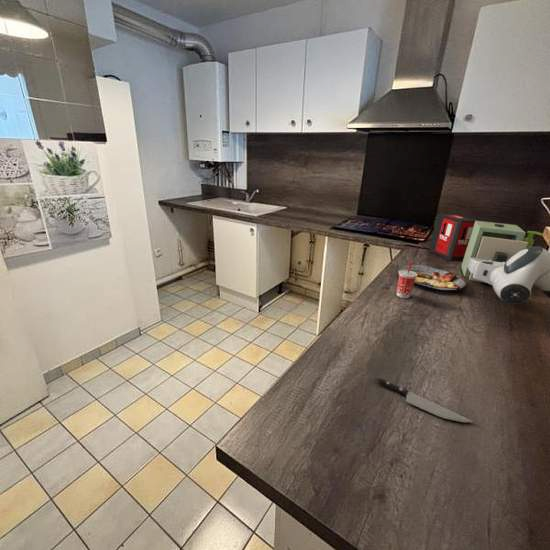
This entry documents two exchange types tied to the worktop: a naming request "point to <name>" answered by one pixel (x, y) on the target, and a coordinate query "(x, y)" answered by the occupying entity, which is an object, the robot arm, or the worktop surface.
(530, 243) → the soap dispenser
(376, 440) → the worktop surface
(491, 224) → the box
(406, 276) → the beverage cup
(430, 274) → the food plate
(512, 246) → the basket
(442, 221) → the cleaning product box
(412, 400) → the chef's knife
